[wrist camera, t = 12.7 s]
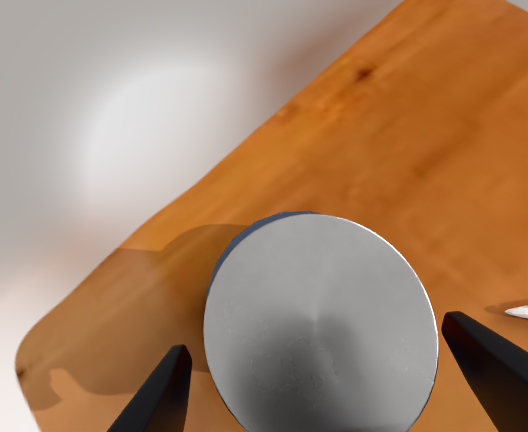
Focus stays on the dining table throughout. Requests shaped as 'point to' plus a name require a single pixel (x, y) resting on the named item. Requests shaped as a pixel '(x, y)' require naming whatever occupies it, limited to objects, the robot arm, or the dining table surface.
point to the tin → (320, 330)
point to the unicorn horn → (519, 311)
